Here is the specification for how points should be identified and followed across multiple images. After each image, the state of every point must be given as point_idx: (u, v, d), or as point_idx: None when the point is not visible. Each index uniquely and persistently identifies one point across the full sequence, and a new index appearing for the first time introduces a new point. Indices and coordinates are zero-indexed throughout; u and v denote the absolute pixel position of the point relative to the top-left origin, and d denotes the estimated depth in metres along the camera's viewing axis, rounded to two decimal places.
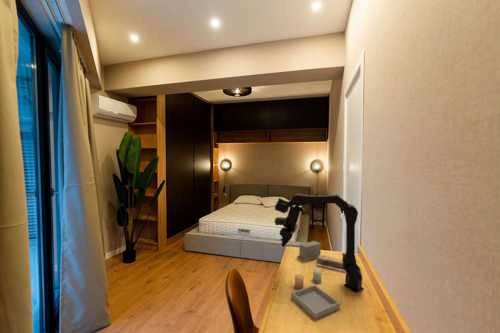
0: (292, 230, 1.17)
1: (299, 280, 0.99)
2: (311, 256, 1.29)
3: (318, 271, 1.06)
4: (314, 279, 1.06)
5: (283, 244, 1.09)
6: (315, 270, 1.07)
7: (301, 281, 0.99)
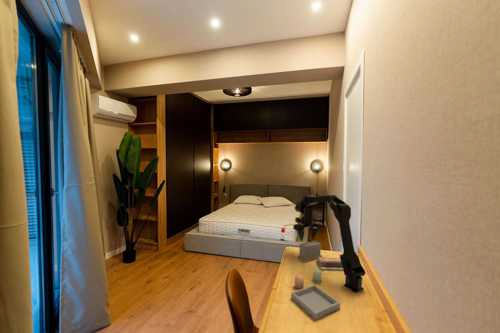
0: (315, 229, 1.33)
1: (299, 280, 0.99)
2: (311, 256, 1.29)
3: (318, 271, 1.06)
4: (314, 279, 1.06)
5: (300, 238, 1.30)
6: (315, 270, 1.07)
7: (301, 281, 0.99)
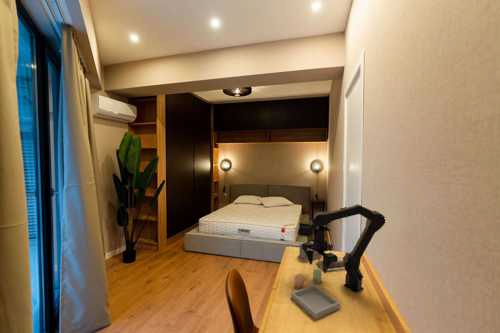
0: None
1: (299, 280, 0.99)
2: None
3: (318, 271, 1.06)
4: (314, 279, 1.06)
5: None
6: (315, 270, 1.07)
7: (301, 281, 0.99)
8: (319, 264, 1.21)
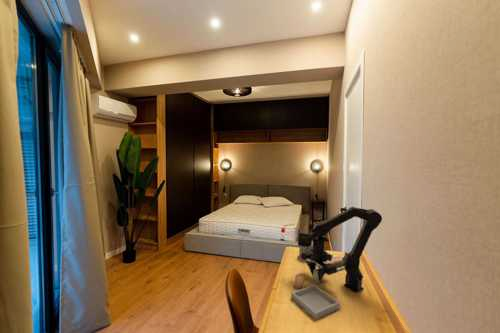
0: None
1: (299, 280, 0.99)
2: None
3: None
4: (314, 279, 1.05)
5: None
6: (315, 270, 1.07)
7: (301, 281, 0.99)
8: None
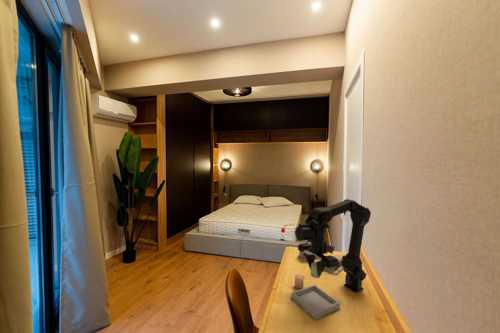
0: None
1: (299, 280, 0.99)
2: None
3: None
4: (312, 273, 0.91)
5: None
6: (313, 263, 0.93)
7: (301, 281, 0.99)
8: (325, 268, 1.16)
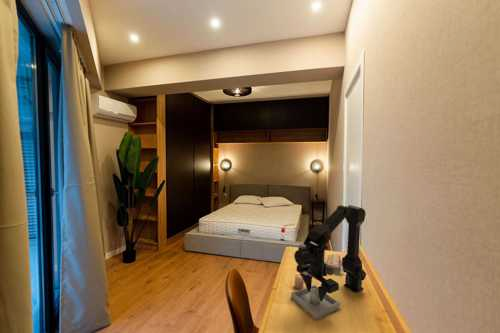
0: None
1: (299, 280, 0.99)
2: None
3: (316, 291, 0.89)
4: (312, 300, 0.88)
5: None
6: (313, 289, 0.90)
7: (301, 281, 0.99)
8: None
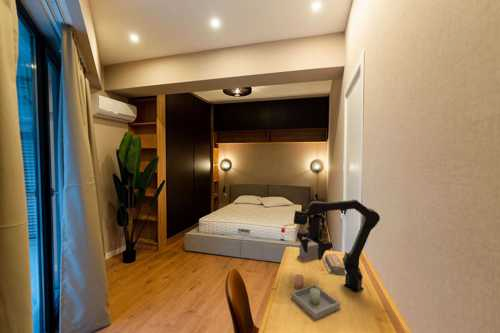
0: (319, 248, 1.02)
1: (299, 280, 0.99)
2: (311, 256, 1.29)
3: (316, 291, 0.89)
4: (312, 300, 0.88)
5: None
6: (313, 289, 0.90)
7: (301, 281, 0.99)
8: (337, 271, 1.14)
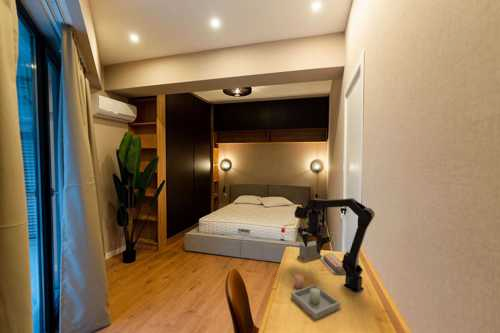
0: None
1: (299, 280, 0.99)
2: (311, 256, 1.29)
3: (316, 291, 0.89)
4: (312, 300, 0.88)
5: None
6: (313, 289, 0.90)
7: (301, 281, 0.99)
8: (341, 271, 1.13)
